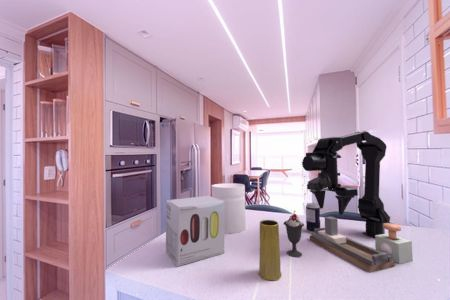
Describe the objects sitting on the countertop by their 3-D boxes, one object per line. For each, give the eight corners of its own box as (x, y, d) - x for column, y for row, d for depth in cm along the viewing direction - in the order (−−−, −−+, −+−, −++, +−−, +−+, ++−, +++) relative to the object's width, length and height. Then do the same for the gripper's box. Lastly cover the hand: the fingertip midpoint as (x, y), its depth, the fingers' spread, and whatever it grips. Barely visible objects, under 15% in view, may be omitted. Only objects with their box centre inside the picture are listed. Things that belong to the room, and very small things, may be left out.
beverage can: (322, 234, 84) (321, 205, 85) (307, 233, 85) (307, 205, 86) (318, 229, 90) (317, 202, 90) (305, 228, 91) (304, 202, 92)
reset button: (390, 236, 67) (389, 222, 67) (405, 241, 63) (404, 226, 63) (380, 238, 66) (380, 223, 66) (395, 243, 62) (394, 228, 62)
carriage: (328, 234, 79) (327, 214, 79) (346, 242, 71) (345, 220, 72) (318, 236, 77) (317, 215, 78) (334, 244, 70) (334, 221, 70)
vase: (256, 268, 58) (255, 219, 59) (277, 267, 59) (275, 218, 59) (262, 281, 52) (261, 226, 53) (284, 280, 53) (283, 225, 53)
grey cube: (388, 250, 68) (387, 233, 69) (412, 260, 62) (411, 241, 62) (374, 253, 67) (374, 235, 67) (398, 264, 60) (397, 243, 60)
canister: (251, 225, 96) (250, 184, 97) (235, 236, 83) (234, 188, 84) (223, 220, 105) (223, 182, 106) (204, 229, 91) (204, 186, 92)
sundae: (295, 260, 63) (293, 212, 63) (280, 251, 69) (279, 208, 69) (309, 255, 66) (308, 210, 66) (293, 247, 72) (292, 206, 72)
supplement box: (177, 268, 59) (177, 207, 60) (165, 251, 70) (165, 199, 71) (226, 253, 68) (225, 200, 69) (208, 240, 79) (208, 194, 80)
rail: (329, 236, 82) (329, 226, 82) (394, 266, 59) (393, 252, 59) (309, 239, 79) (309, 229, 79) (369, 272, 56) (368, 257, 56)
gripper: (295, 169, 82) (296, 207, 81) (332, 172, 64) (334, 220, 64) (317, 168, 86) (318, 205, 85) (357, 171, 68) (360, 217, 67)
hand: (330, 211), depth 75 cm, fingers open, 9 cm apart
